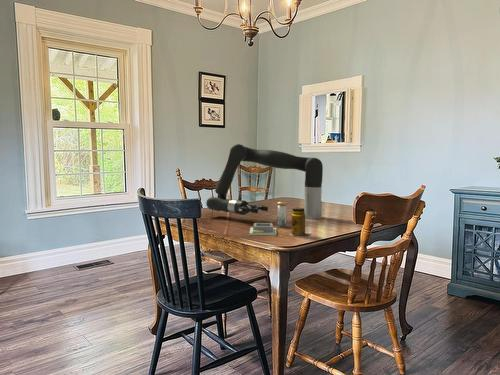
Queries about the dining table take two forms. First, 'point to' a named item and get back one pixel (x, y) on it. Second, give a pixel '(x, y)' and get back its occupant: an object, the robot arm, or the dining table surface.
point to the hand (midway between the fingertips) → (262, 210)
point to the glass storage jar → (281, 214)
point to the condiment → (298, 223)
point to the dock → (263, 229)
